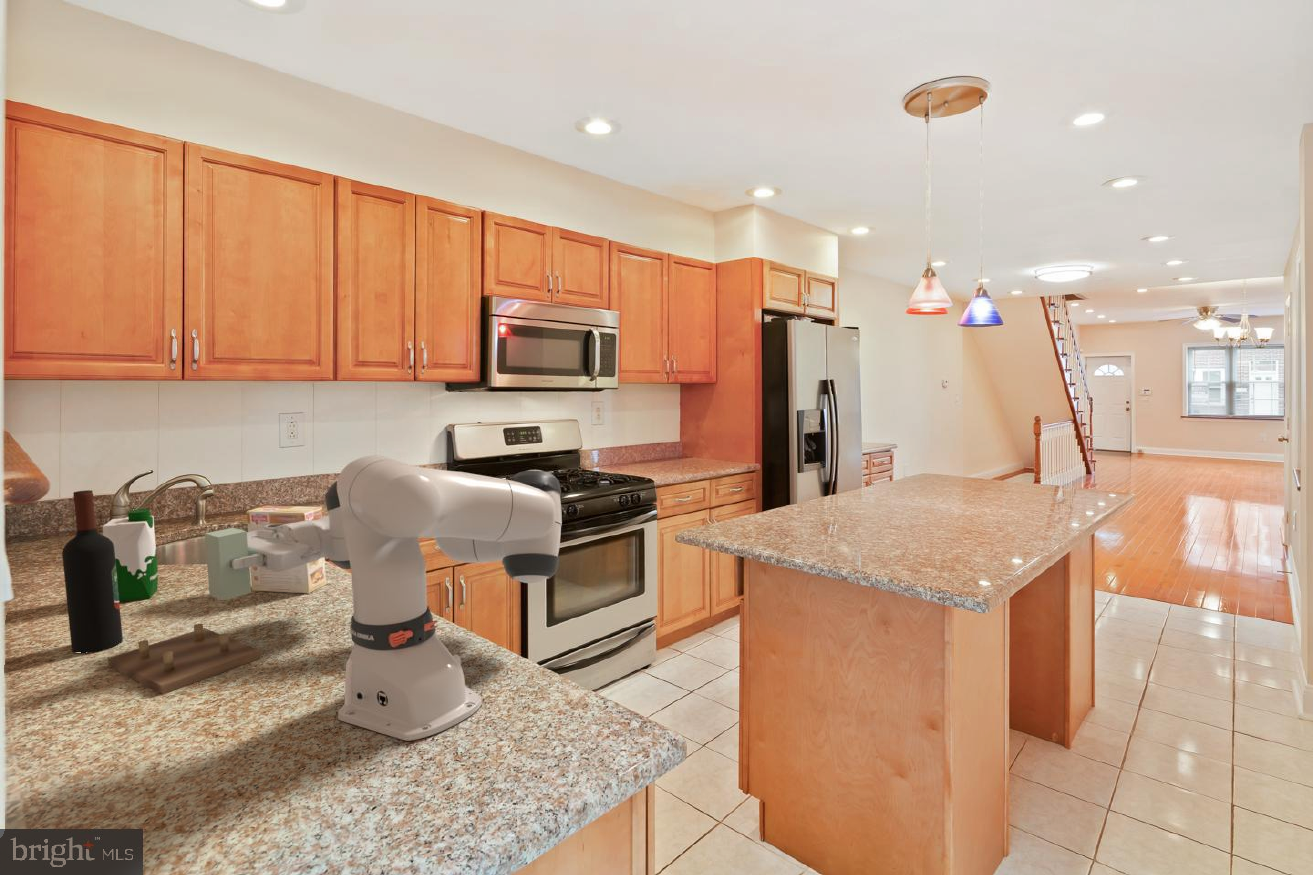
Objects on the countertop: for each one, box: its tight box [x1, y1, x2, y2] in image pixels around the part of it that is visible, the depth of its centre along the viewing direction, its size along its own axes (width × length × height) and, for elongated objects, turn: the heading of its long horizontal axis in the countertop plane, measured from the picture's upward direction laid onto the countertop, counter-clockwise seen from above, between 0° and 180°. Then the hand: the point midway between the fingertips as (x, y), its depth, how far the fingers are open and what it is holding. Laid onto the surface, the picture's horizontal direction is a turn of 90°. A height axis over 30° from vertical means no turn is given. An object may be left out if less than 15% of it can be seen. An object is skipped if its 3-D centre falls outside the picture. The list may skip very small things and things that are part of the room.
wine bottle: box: [61, 489, 124, 654], centre depth 128 cm, size 8×8×30 cm
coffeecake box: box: [246, 505, 327, 594], centre depth 162 cm, size 15×7×20 cm, turn 82°
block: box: [204, 527, 252, 601], centre depth 128 cm, size 5×5×12 cm
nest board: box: [107, 623, 262, 695], centre depth 123 cm, size 20×16×4 cm
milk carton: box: [102, 508, 159, 603], centre depth 156 cm, size 9×9×20 cm
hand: (222, 561), depth 127 cm, fingers closed on block, 5 cm apart
